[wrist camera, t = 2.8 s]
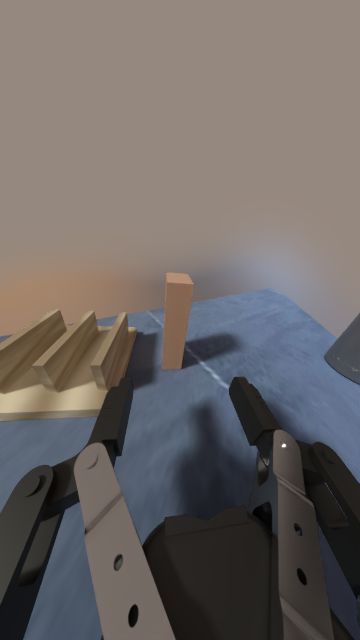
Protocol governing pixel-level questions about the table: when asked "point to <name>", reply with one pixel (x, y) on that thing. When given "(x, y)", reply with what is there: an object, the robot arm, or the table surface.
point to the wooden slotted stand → (62, 367)
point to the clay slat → (176, 318)
